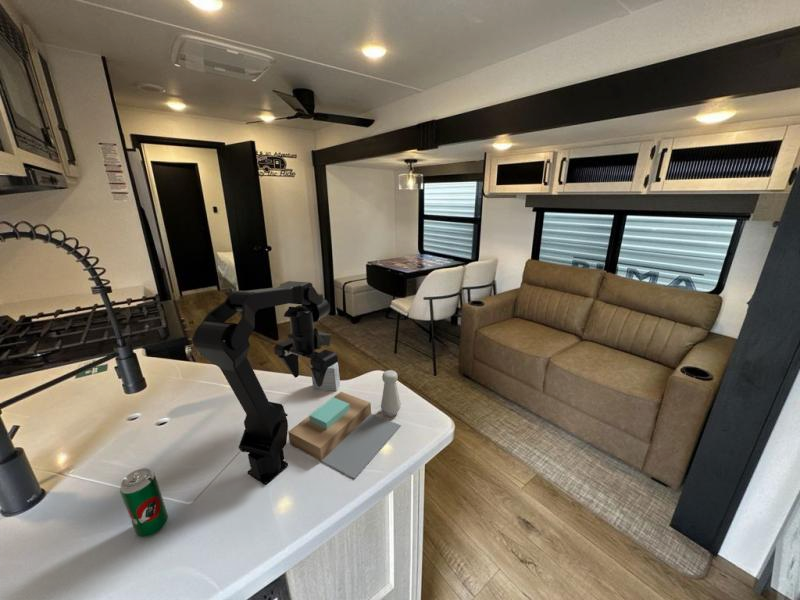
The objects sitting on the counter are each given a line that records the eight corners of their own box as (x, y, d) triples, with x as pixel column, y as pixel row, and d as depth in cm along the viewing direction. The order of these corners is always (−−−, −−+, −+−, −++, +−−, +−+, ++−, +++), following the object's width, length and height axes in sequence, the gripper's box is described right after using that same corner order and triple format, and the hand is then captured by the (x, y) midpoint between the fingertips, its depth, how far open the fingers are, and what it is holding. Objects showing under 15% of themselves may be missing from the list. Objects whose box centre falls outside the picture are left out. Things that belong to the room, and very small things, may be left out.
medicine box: (340, 384, 107) (338, 361, 105) (336, 391, 103) (334, 368, 100) (317, 383, 108) (315, 360, 105) (313, 390, 104) (310, 367, 101)
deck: (321, 461, 76) (320, 448, 74) (290, 444, 81) (288, 431, 80) (371, 414, 92) (370, 402, 91) (342, 402, 97) (341, 391, 96)
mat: (354, 479, 71) (354, 478, 71) (321, 461, 76) (321, 460, 76) (400, 426, 87) (400, 425, 87) (371, 414, 92) (371, 413, 92)
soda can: (174, 513, 64) (160, 465, 60) (157, 538, 59) (140, 489, 55) (149, 514, 64) (132, 466, 60) (129, 540, 59) (110, 490, 55)
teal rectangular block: (327, 429, 80) (326, 422, 80) (310, 421, 83) (309, 415, 83) (349, 409, 88) (349, 403, 87) (333, 403, 91) (333, 397, 90)
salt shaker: (403, 415, 91) (403, 375, 87) (385, 420, 89) (383, 380, 85) (396, 404, 96) (395, 365, 92) (378, 408, 94) (376, 369, 90)
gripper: (350, 325, 85) (353, 377, 89) (302, 313, 94) (307, 361, 99) (319, 340, 76) (324, 397, 80) (269, 325, 85) (276, 377, 90)
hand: (308, 381), depth 87 cm, fingers open, 9 cm apart
